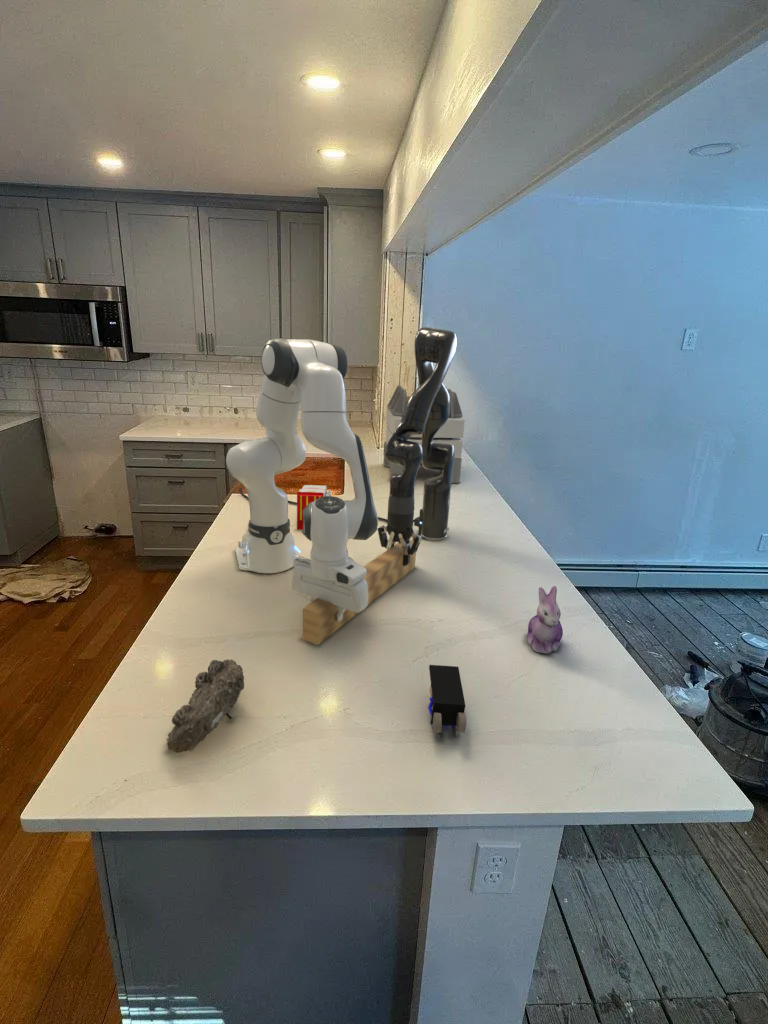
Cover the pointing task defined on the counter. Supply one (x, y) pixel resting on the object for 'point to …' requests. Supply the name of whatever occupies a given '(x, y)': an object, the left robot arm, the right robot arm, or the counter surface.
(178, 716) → the fossil
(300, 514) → the toy
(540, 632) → the figurine
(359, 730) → the counter surface
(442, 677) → the black wheeled block
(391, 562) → the post
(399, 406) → the grey slatted crate
